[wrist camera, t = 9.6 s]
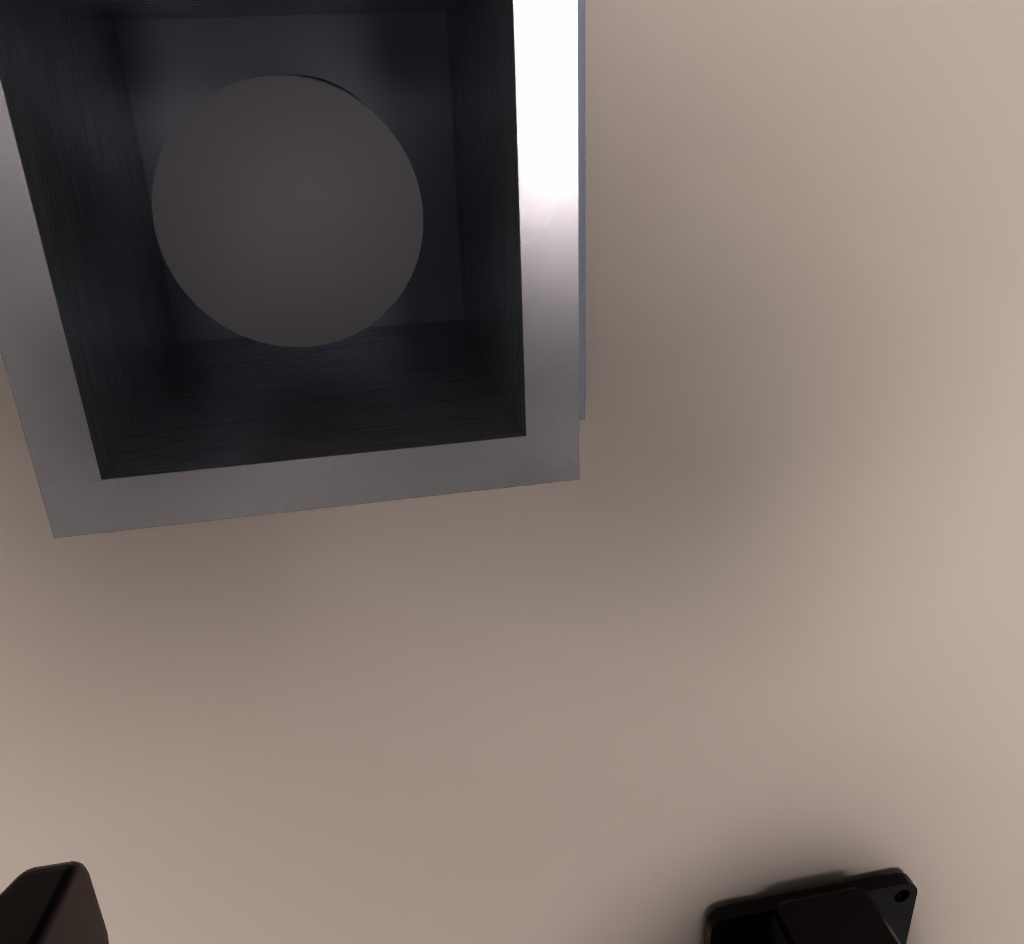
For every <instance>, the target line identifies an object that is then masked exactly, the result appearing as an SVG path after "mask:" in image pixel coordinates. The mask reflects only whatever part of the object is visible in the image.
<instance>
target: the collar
mask: <svg viewBox="0 0 1024 944" xmlns="http://www.w3.org/2000/svg"><path fill="white" fill-rule="evenodd" d="M427 11H446V24H447V41H448V59H449V76H450V93H451V110H452V127H453V144H454V161H455V178H456V195H457V212H458V229H459V247H460V264H461V281H462V298H463V315H464V320H452V321H440V322H428V323H416V324H403V325H391V326H379V327H367V328H365V329H363V330H361V331H360V332H358V333H356V334H354V335H352V336H349V337H347V338H345V339H342V340H339V341H336V342H332V343H329V344H325V345H318V346H311V347H285V346H275V345H271V344H267V343H262V342H258V341H255V340H252V339H250V338H247V337H245V338H233V339H220V340H208V341H196V342H184V343H179V342H178V337H177V332H176V327H175V322H174V317H173V312H172V307H171V302H170V296H169V291H168V286H167V281H166V276H165V271H164V266H163V261H162V256H161V251H160V247H159V244H158V240H157V236H156V232H155V229H154V221H153V214H152V206H151V201H150V195H149V190H148V185H147V180H146V175H145V170H144V165H143V160H142V155H141V150H140V145H139V140H138V135H137V130H136V125H135V120H134V115H133V110H132V105H131V99H130V94H129V89H128V84H127V79H126V74H125V69H124V64H123V59H122V54H121V49H120V44H119V39H118V34H117V29H116V24H115V20H143V19H179V18H214V17H250V16H285V15H320V14H356V13H391V12H427ZM0 350H1V354H2V357H3V361H4V364H5V368H6V371H7V375H8V378H9V382H10V385H11V389H12V392H13V396H14V399H15V403H16V406H17V410H18V413H19V417H20V420H21V424H22V427H23V431H24V434H25V438H26V441H27V445H28V448H29V452H30V455H31V459H32V462H33V466H34V469H35V473H36V476H37V480H38V483H39V487H40V490H41V494H42V497H43V501H44V504H45V508H46V511H47V515H48V518H49V522H50V525H51V529H52V532H53V536H54V538H59V537H68V536H77V535H86V534H95V533H104V532H113V531H122V530H131V529H140V528H148V527H157V526H166V525H175V524H184V523H193V522H202V521H211V520H220V519H229V518H238V517H247V516H256V515H265V514H273V513H282V512H291V511H300V510H309V509H318V508H327V507H336V506H345V505H354V504H363V503H372V502H381V501H390V500H399V499H407V498H416V497H425V496H434V495H443V494H452V493H461V492H470V491H479V490H488V489H497V488H506V487H515V486H524V485H533V484H541V483H550V482H559V481H568V480H577V479H579V265H578V0H0Z"/></svg>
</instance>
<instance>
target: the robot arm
mask: <svg viewBox="0 0 1024 944" xmlns="http://www.w3.org/2000/svg"><path fill="white" fill-rule="evenodd" d="M916 896H917V888H916V887H915V885H914V884H913V882H912V881H911V880H910V878H909V877H908V876H907V874H904V873H894V874H889V875H884V876H879V877H874V878H868V879H863V880H858V881H853V882H847V883H842V884H837V885H832V886H827V887H821V888H816V889H811V890H806V891H801V892H795V893H790V894H785V895H780V896H775V897H769V898H764V899H759V900H754V901H749V902H743V903H738V904H733V905H728V906H723V907H720V908H717V909H715V910H714V911H712V912H711V913H710V914H709V915H708V916H707V919H706V923H705V935H704V944H906V941H907V937H908V932H909V928H910V923H911V919H912V914H913V910H914V905H915V901H916ZM0 944H109V941H108V934H107V930H106V927H105V923H104V920H103V917H102V914H101V910H100V907H99V904H98V901H97V898H96V894H95V891H94V888H93V885H92V882H91V878H90V875H89V873H88V871H87V869H86V867H85V866H84V865H83V864H82V863H80V862H75V861H71V862H65V863H59V864H52V865H46V866H40V867H34V868H31V869H28V870H26V871H25V872H23V873H22V874H20V875H19V876H18V877H17V878H16V879H15V880H14V881H13V882H12V883H11V884H10V885H9V886H8V887H7V888H6V889H5V890H4V891H3V892H2V893H1V894H0Z"/></svg>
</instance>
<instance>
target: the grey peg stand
mask: <svg viewBox="0 0 1024 944" xmlns="http://www.w3.org/2000/svg"><path fill="white" fill-rule="evenodd" d="M115 24H116V29H117V34H118V39H119V44H120V49H121V54H122V59H123V64H124V69H125V74H126V79H127V84H128V89H129V94H130V99H131V105H132V110H133V115H134V120H135V125H136V130H137V135H138V140H139V145H140V150H141V155H142V160H143V165H144V170H145V175H146V180H147V185H148V190H149V195H150V201H151V206H152V214H153V221H154V229H155V232H156V236H157V240H158V244H159V247H160V251H161V256H162V261H163V266H164V271H165V276H166V281H167V286H168V291H169V296H170V302H171V307H172V312H173V317H174V322H175V327H176V332H177V337H178V342H179V343H184V342H196V341H208V340H220V339H233V338H245V337H247V338H250V339H252V340H255V341H258V342H262V343H267V344H271V345H275V346H285V347H311V346H318V345H325V344H329V343H332V342H336V341H339V340H342V339H345V338H347V337H349V336H352V335H354V334H356V333H358V332H360V331H361V330H363V329H365V328H367V327H379V326H391V325H403V324H416V323H428V322H440V321H452V320H464V315H463V298H462V281H461V264H460V247H459V229H458V212H457V195H456V178H455V161H454V144H453V127H452V110H451V93H450V76H449V59H448V41H447V24H446V11H427V12H391V13H356V14H320V15H285V16H250V17H214V18H179V19H143V20H115ZM578 265H579V419H585V0H578Z"/></svg>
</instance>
